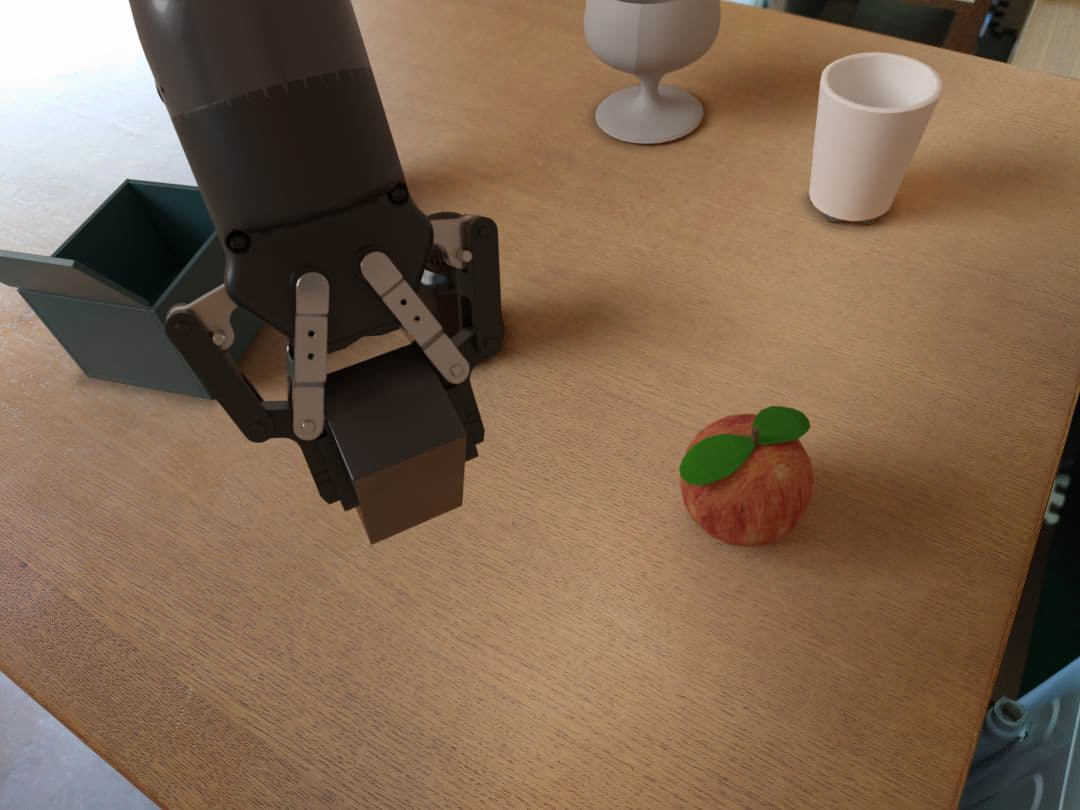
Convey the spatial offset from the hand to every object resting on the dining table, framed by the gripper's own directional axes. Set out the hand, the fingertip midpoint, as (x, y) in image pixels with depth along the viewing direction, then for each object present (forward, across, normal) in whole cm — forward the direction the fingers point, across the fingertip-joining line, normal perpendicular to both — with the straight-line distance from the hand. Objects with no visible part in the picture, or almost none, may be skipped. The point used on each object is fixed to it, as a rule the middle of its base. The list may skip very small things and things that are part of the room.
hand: (409, 476), depth 35 cm
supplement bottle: (+4, +13, +32) cm, 35 cm away
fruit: (+17, +22, +9) cm, 29 cm away
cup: (+4, +52, +27) cm, 59 cm away
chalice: (-8, +45, +49) cm, 67 cm away
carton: (-2, -9, +46) cm, 47 cm away
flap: (-11, -16, +33) cm, 39 cm away
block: (+2, 0, +5) cm, 5 cm away
